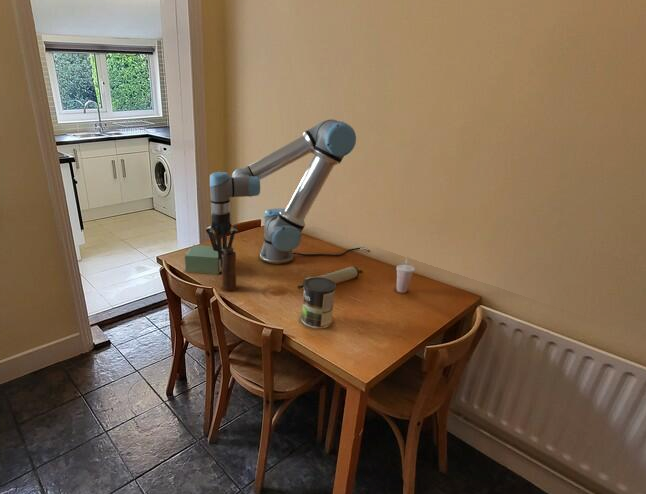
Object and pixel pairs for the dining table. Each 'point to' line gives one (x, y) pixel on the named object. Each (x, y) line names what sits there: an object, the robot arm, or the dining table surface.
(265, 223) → the robot arm
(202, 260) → the cabinet
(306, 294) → the coffee can
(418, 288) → the dining table surface
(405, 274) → the smoothie
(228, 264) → the pepper mill
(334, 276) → the rolling pin
